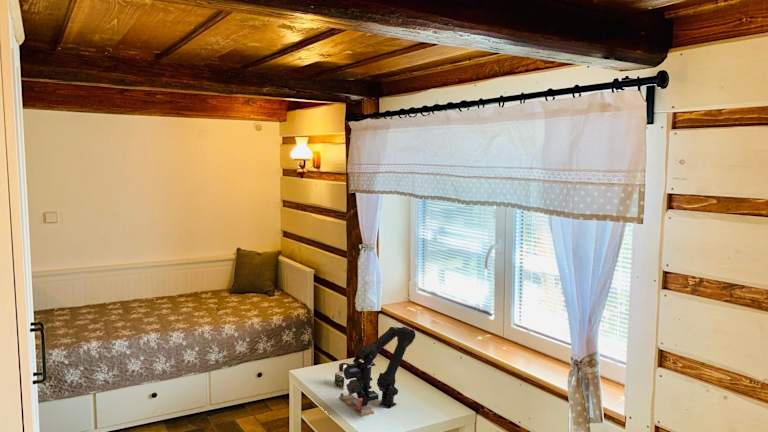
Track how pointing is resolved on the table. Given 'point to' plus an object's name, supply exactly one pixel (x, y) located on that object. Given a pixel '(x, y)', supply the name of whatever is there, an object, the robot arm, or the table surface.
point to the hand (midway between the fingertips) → (362, 406)
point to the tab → (358, 403)
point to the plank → (347, 400)
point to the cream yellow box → (341, 377)
